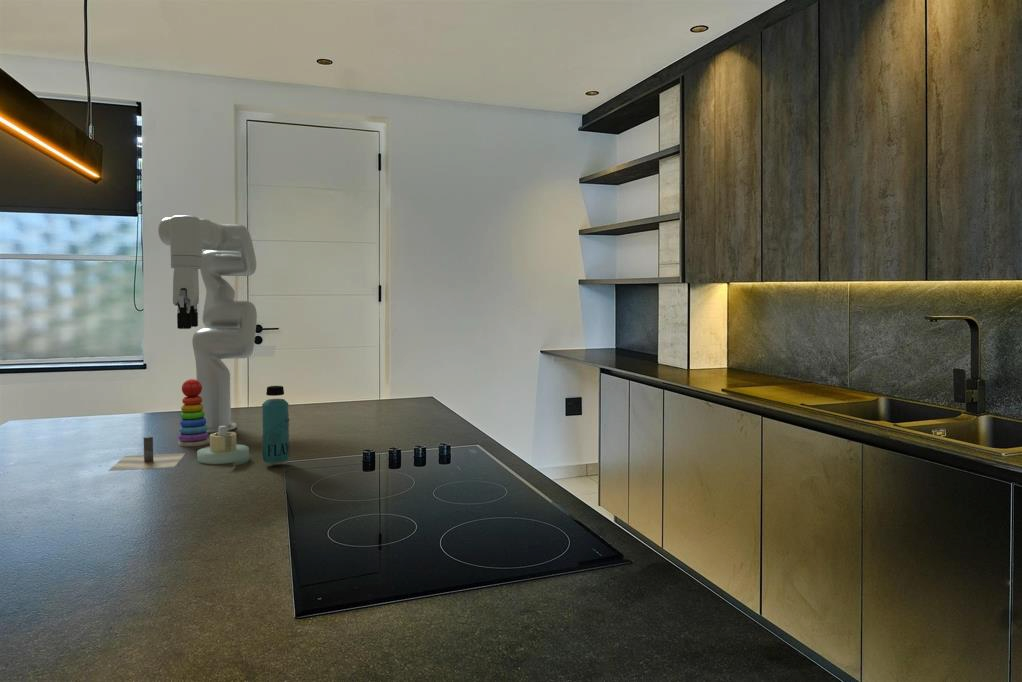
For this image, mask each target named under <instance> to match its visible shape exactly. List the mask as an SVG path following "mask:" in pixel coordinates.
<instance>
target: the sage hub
mask: <svg viewBox="0 0 1022 682" xmlns="http://www.w3.org/2000/svg"><path fill="white" fill-rule="evenodd" d="M227 432H228V431H227V426H219V436H226V435H227ZM249 451H250V448H249V446H247V445H245V444H237V443H236V450H234V451H231V452H223V453H215V452H211V451H210V446H205V447H203V448H200V449H198V450H197V451H196V456H197V458H196V459H197V460H196V461H197V462H198V463H200V464H208V465H221V464H223V465H224V464H231V463H232V465H231V466H232V467H236V466H240V465H243V464H247V463H248V462H249V461H250V452H249Z"/></svg>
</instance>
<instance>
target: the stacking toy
mask: <svg viewBox="0 0 1022 682" xmlns="http://www.w3.org/2000/svg"><path fill="white" fill-rule="evenodd" d="M201 391H202V385H201V383H200V382H199V381H197V379H194V378H191V379H187V380H186V381H185V380H184V382H183V384H182V385H181V392H182V395H184V397H183V398H182V404H183V405H181V407H180V409H181V411H182V412H181V413H180V418H181V420H180V422H179V425H181V426H180V427H179V432H180V433H179V434H178V440H179V441H178V442H177V445H178V446H180V447H196V446H197V447H199V446H203V445H207V444H210V438H208V437H209V433H207V432H206V431H207V425H206V419H205V418H204V415H205V413H204V411H202V409H203V405H202V404H200V403H201V402H202V397H200V396H198V395H199V394H200V393H201Z"/></svg>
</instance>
